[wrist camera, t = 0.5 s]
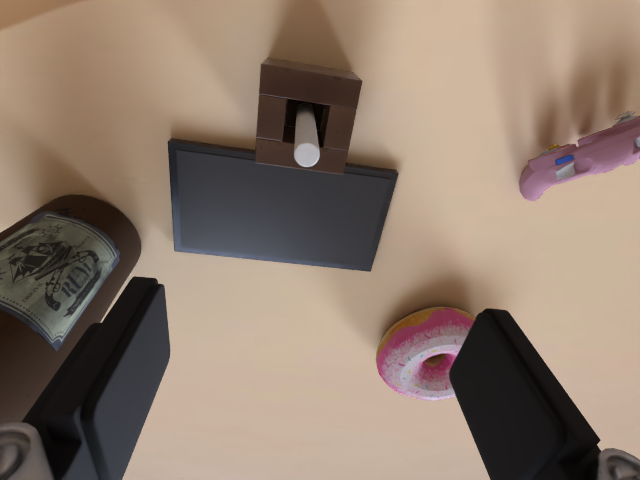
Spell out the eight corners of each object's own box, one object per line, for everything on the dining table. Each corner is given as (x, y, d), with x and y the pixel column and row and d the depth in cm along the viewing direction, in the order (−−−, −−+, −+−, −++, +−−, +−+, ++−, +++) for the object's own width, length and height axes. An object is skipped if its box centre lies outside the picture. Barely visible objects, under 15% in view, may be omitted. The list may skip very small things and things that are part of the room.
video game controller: (611, 115, 32) (676, 93, 25) (628, 162, 33) (696, 153, 26) (502, 159, 34) (535, 150, 27) (519, 203, 34) (556, 205, 27)
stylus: (297, 99, 29) (295, 140, 19) (314, 102, 29) (321, 144, 19) (295, 117, 30) (292, 165, 20) (312, 119, 30) (317, 169, 20)
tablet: (170, 138, 30) (167, 141, 29) (396, 169, 33) (399, 173, 32) (177, 246, 36) (174, 251, 35) (369, 266, 38) (370, 272, 37)
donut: (504, 330, 44) (526, 362, 40) (427, 387, 49) (439, 421, 45) (430, 280, 39) (445, 311, 35) (353, 349, 45) (358, 383, 40)
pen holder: (267, 57, 27) (261, 63, 23) (353, 72, 28) (362, 80, 24) (261, 144, 31) (254, 163, 27) (337, 155, 32) (343, 175, 27)
